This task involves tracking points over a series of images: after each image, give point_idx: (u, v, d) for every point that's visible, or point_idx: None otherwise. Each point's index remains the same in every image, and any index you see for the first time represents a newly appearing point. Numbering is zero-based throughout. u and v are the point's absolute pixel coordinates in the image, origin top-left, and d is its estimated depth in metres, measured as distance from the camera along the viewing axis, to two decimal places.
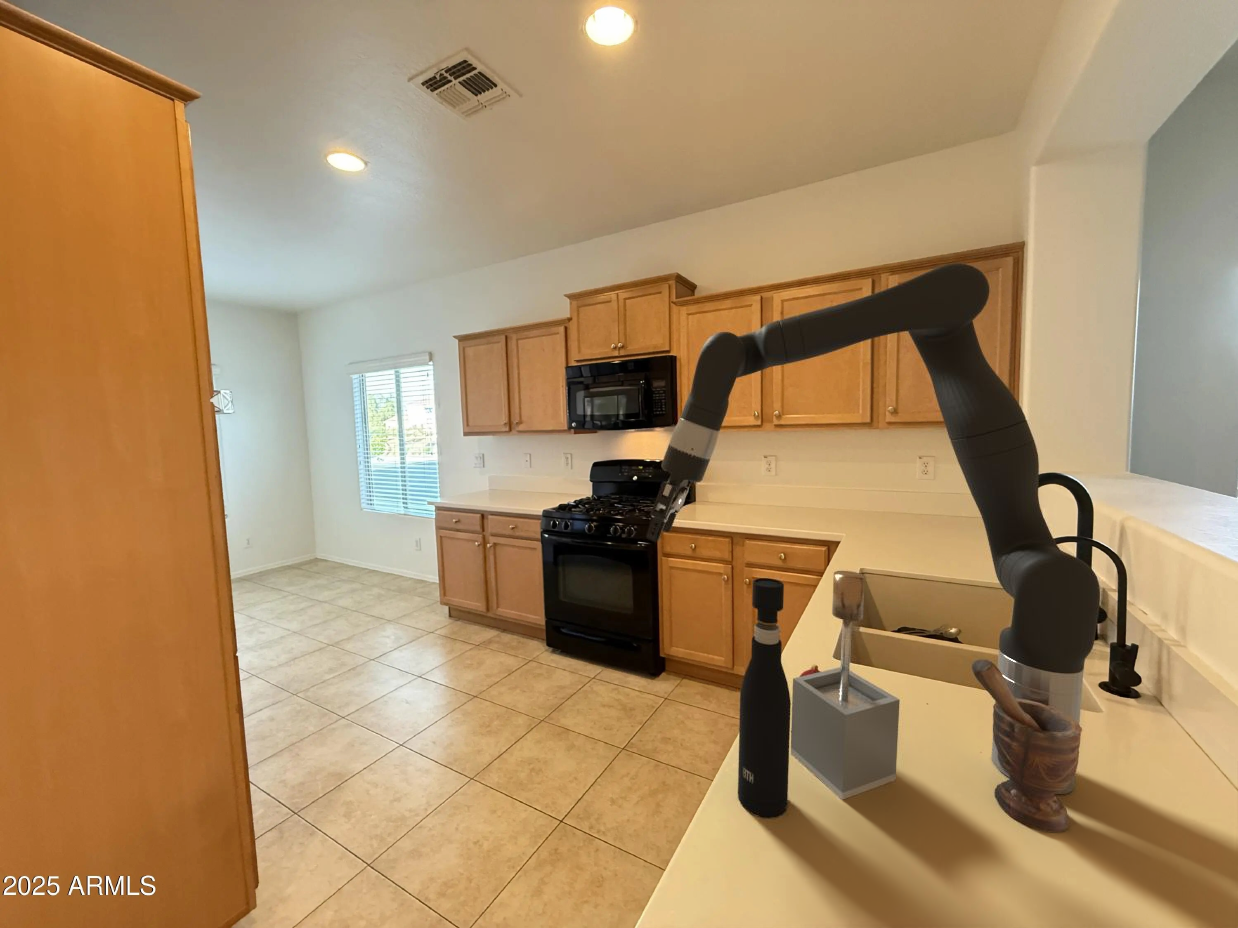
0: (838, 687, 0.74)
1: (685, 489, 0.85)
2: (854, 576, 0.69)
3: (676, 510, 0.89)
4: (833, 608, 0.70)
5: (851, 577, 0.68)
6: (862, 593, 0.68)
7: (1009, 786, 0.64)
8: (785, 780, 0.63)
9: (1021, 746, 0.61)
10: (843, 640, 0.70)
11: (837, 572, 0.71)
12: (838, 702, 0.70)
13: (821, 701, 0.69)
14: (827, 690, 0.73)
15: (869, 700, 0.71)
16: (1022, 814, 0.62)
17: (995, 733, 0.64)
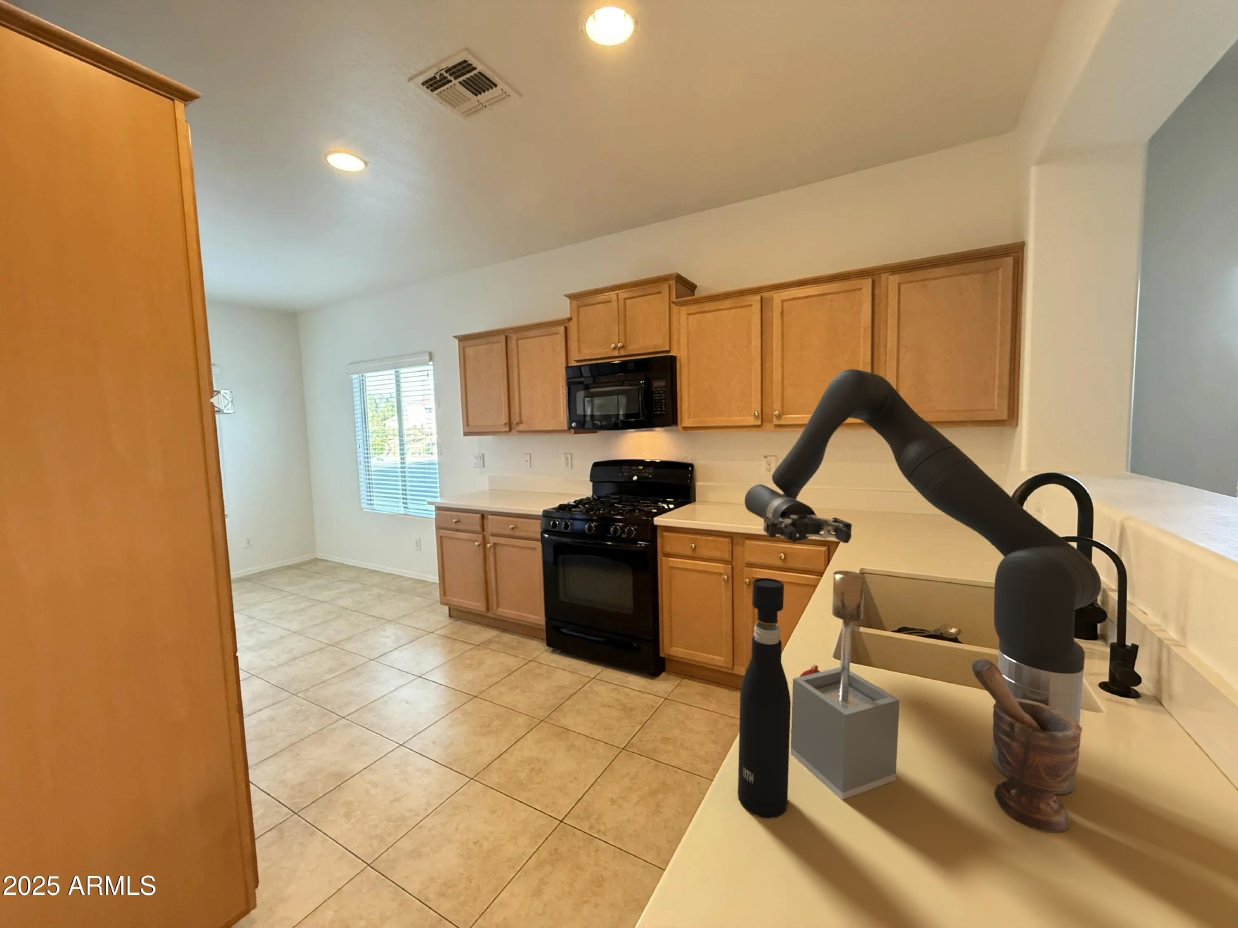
0: (838, 687, 0.74)
1: (806, 516, 0.89)
2: (854, 576, 0.69)
3: (834, 526, 0.85)
4: (833, 608, 0.70)
5: (851, 577, 0.68)
6: (862, 593, 0.68)
7: (1009, 786, 0.64)
8: (785, 780, 0.63)
9: (1021, 746, 0.61)
10: (843, 640, 0.70)
11: (837, 572, 0.71)
12: (838, 702, 0.70)
13: (821, 701, 0.69)
14: (827, 690, 0.73)
15: (869, 700, 0.71)
16: (1022, 814, 0.62)
17: (995, 733, 0.64)
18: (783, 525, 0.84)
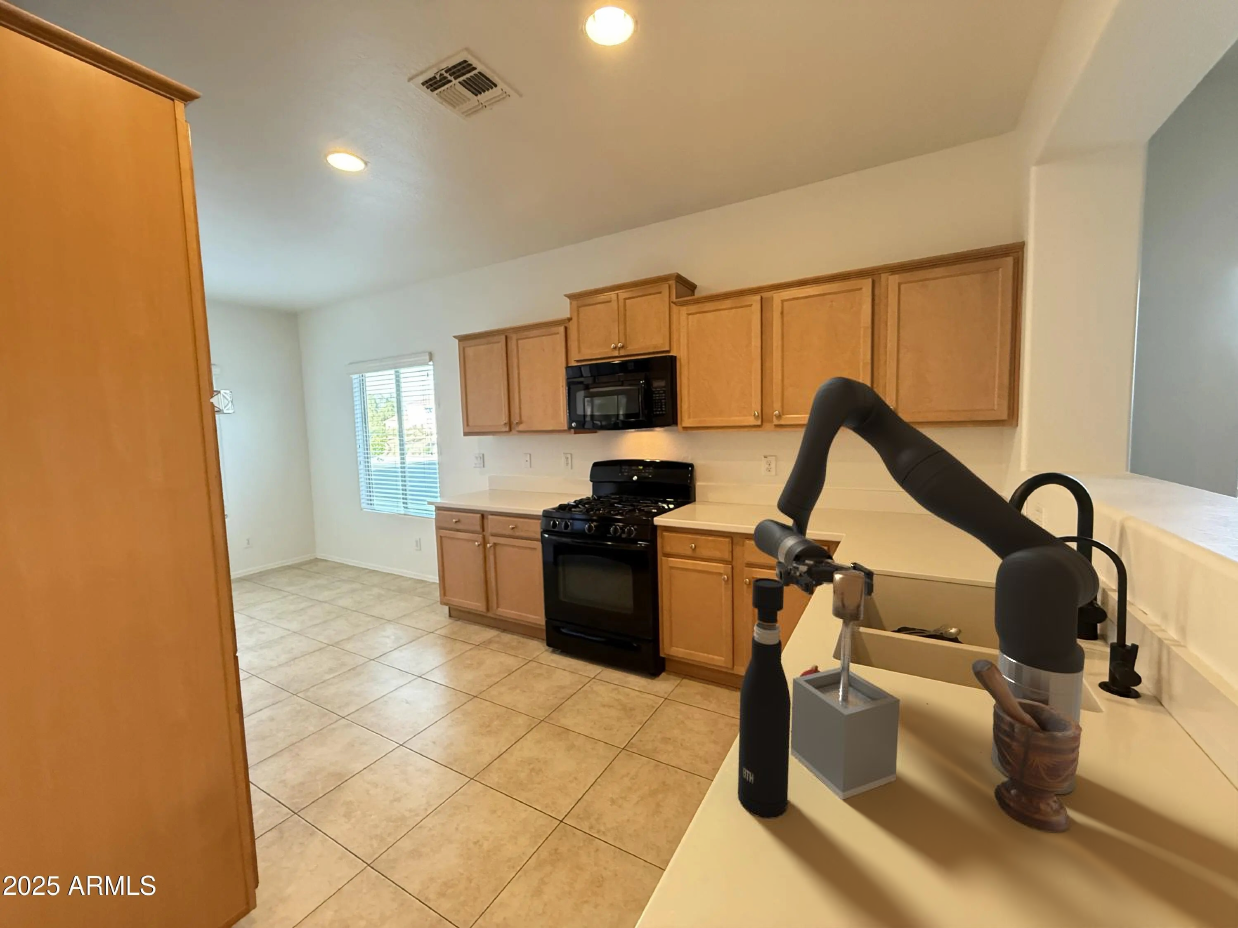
0: (838, 687, 0.74)
1: (823, 561, 0.82)
2: (854, 576, 0.69)
3: None
4: (833, 608, 0.70)
5: (851, 577, 0.68)
6: (862, 593, 0.68)
7: (1009, 786, 0.64)
8: (785, 780, 0.63)
9: (1021, 746, 0.61)
10: (843, 640, 0.70)
11: (837, 572, 0.71)
12: (838, 702, 0.70)
13: (821, 701, 0.69)
14: (827, 690, 0.73)
15: (869, 700, 0.71)
16: (1022, 814, 0.62)
17: (995, 733, 0.64)
18: (798, 574, 0.77)
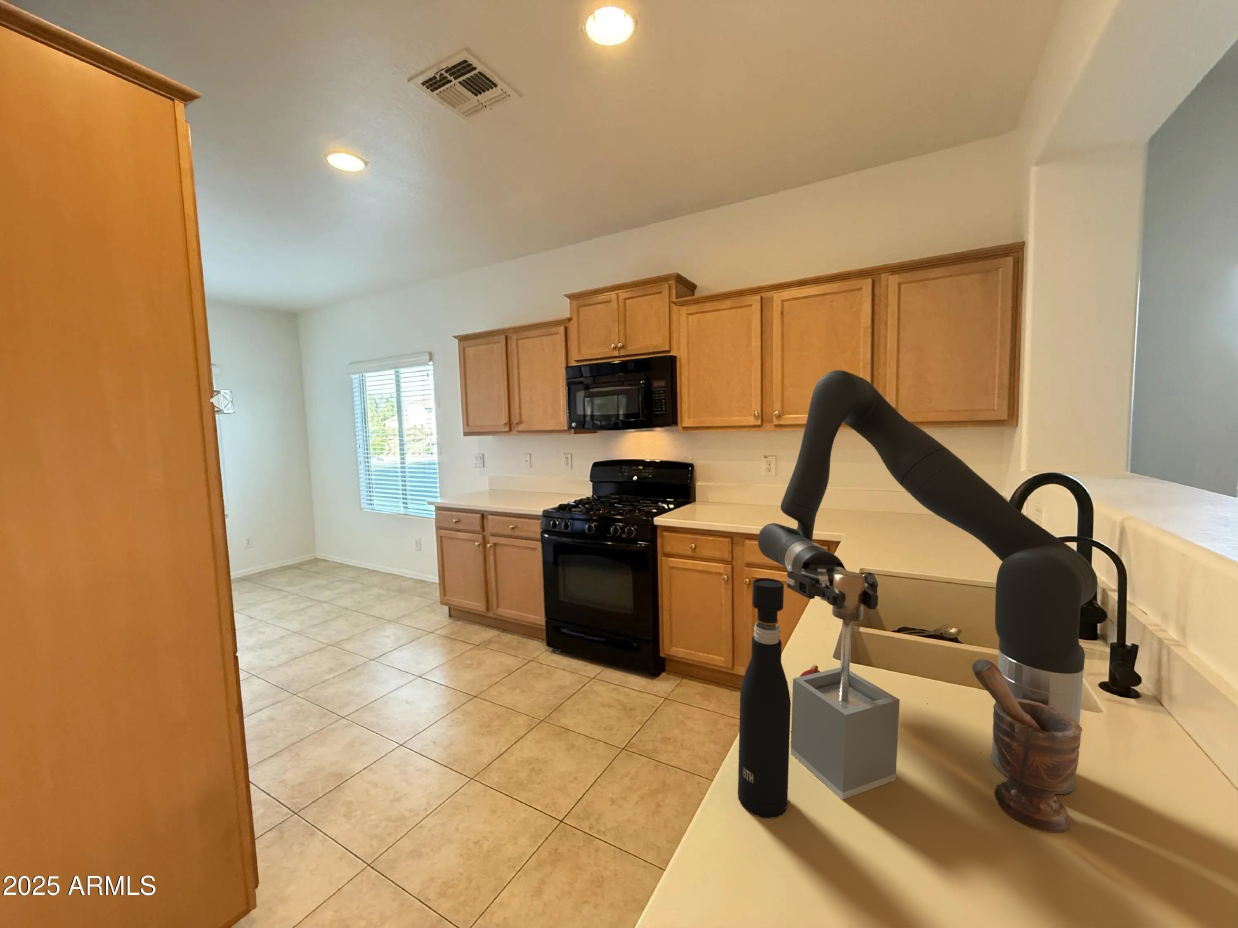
0: (838, 687, 0.74)
1: (834, 569, 0.77)
2: (854, 576, 0.69)
3: None
4: (833, 608, 0.70)
5: (851, 577, 0.68)
6: (862, 593, 0.68)
7: (1009, 786, 0.64)
8: (785, 780, 0.63)
9: (1021, 746, 0.61)
10: (843, 640, 0.70)
11: (837, 572, 0.71)
12: (838, 702, 0.70)
13: (821, 701, 0.69)
14: (827, 690, 0.74)
15: (869, 700, 0.71)
16: (1022, 814, 0.62)
17: (995, 733, 0.64)
18: (826, 585, 0.71)
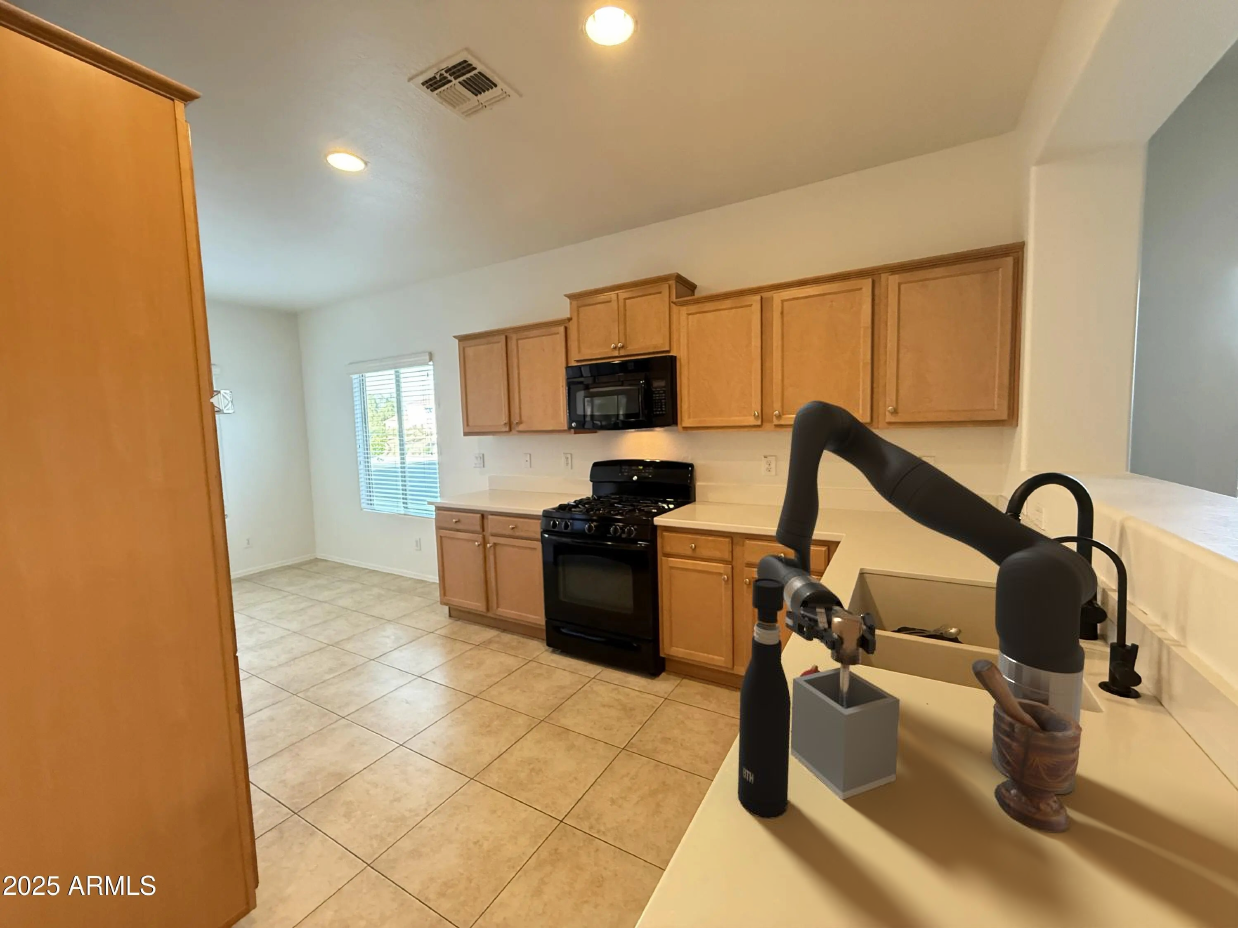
0: None
1: None
2: (852, 620, 0.69)
3: None
4: (831, 651, 0.71)
5: (849, 621, 0.69)
6: (860, 637, 0.69)
7: (1009, 786, 0.64)
8: (785, 780, 0.63)
9: (1021, 746, 0.61)
10: (841, 683, 0.71)
11: (835, 615, 0.71)
12: None
13: (821, 701, 0.69)
14: None
15: None
16: (1022, 814, 0.62)
17: (995, 733, 0.64)
18: (824, 628, 0.71)
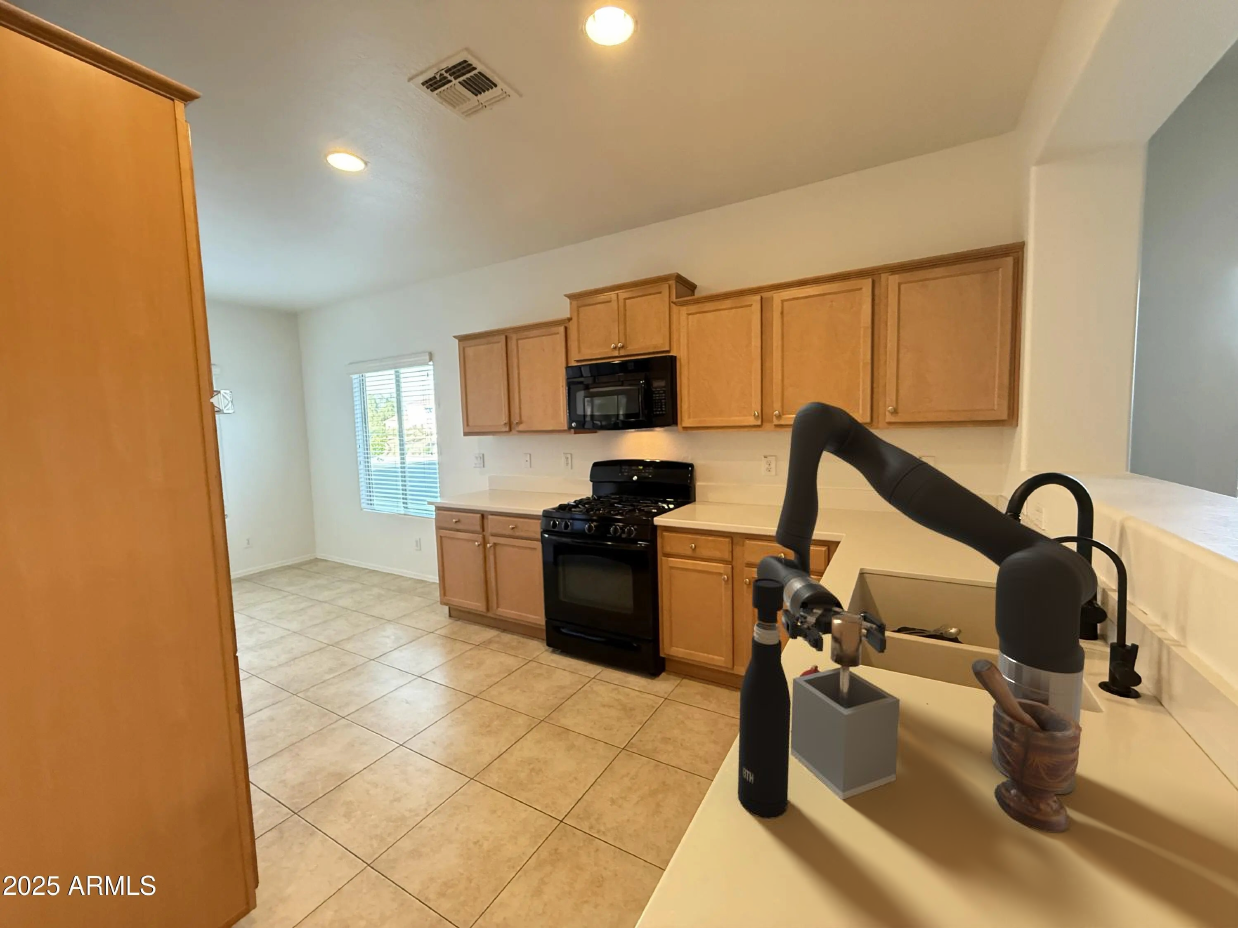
0: None
1: (831, 610, 0.78)
2: (852, 622, 0.69)
3: (866, 627, 0.73)
4: (831, 653, 0.71)
5: (849, 623, 0.69)
6: (860, 639, 0.69)
7: (1009, 786, 0.64)
8: (785, 780, 0.63)
9: (1021, 746, 0.61)
10: (841, 685, 0.71)
11: (835, 617, 0.71)
12: None
13: (821, 701, 0.69)
14: None
15: None
16: (1022, 814, 0.62)
17: (995, 733, 0.64)
18: (806, 626, 0.73)
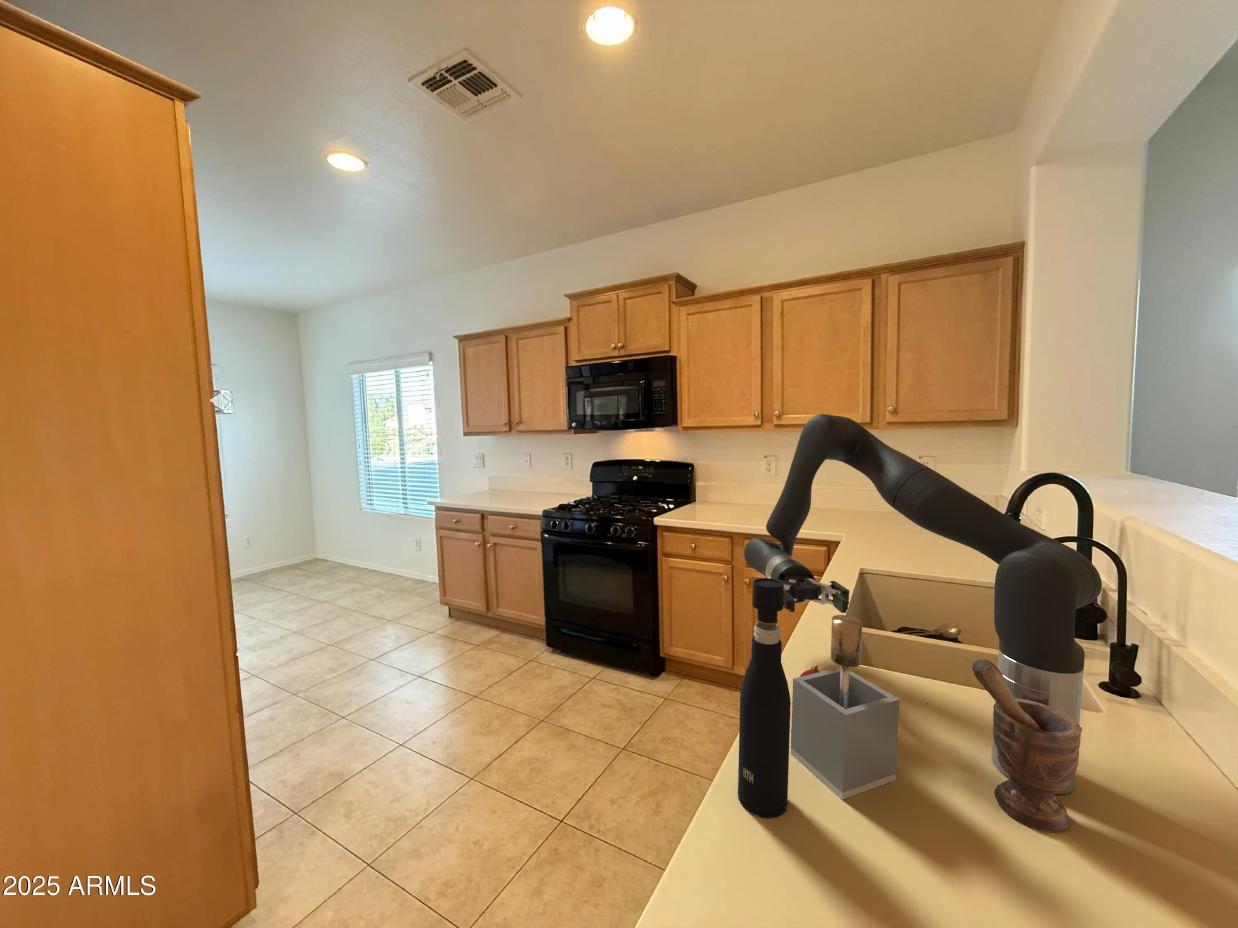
0: None
1: (804, 580, 0.90)
2: (852, 622, 0.69)
3: (832, 592, 0.86)
4: (831, 653, 0.71)
5: (849, 623, 0.69)
6: (860, 639, 0.69)
7: (1009, 786, 0.64)
8: (785, 780, 0.63)
9: (1021, 746, 0.61)
10: (841, 685, 0.71)
11: (835, 617, 0.71)
12: None
13: (821, 701, 0.69)
14: None
15: None
16: (1022, 814, 0.62)
17: (995, 733, 0.64)
18: None
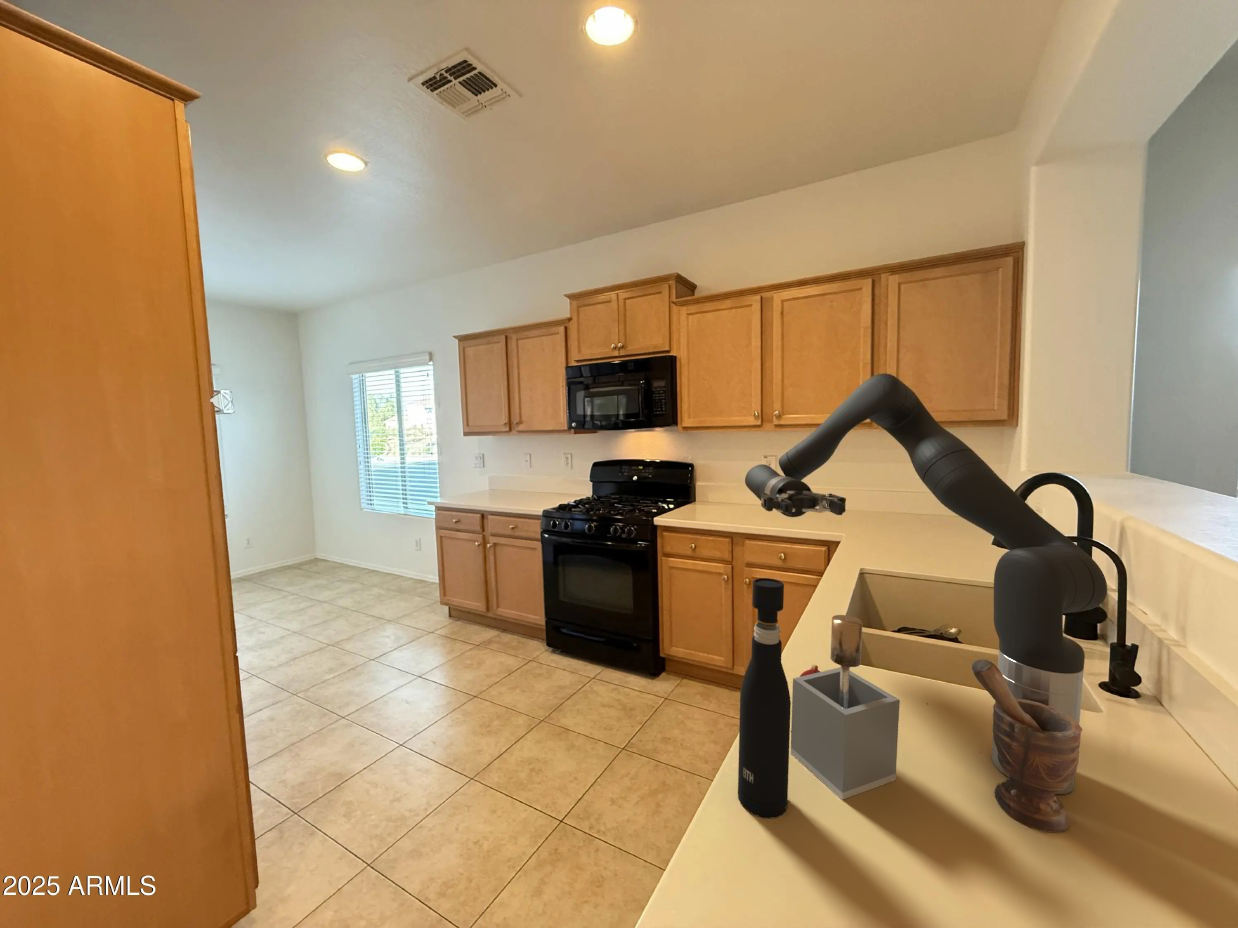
0: None
1: (802, 492, 0.93)
2: (852, 622, 0.69)
3: (829, 500, 0.88)
4: (831, 653, 0.71)
5: (849, 623, 0.69)
6: (860, 639, 0.69)
7: (1009, 786, 0.64)
8: (785, 780, 0.63)
9: (1021, 746, 0.61)
10: (841, 685, 0.71)
11: (835, 617, 0.71)
12: None
13: (821, 701, 0.69)
14: None
15: None
16: (1022, 814, 0.62)
17: (995, 733, 0.64)
18: (780, 499, 0.88)
